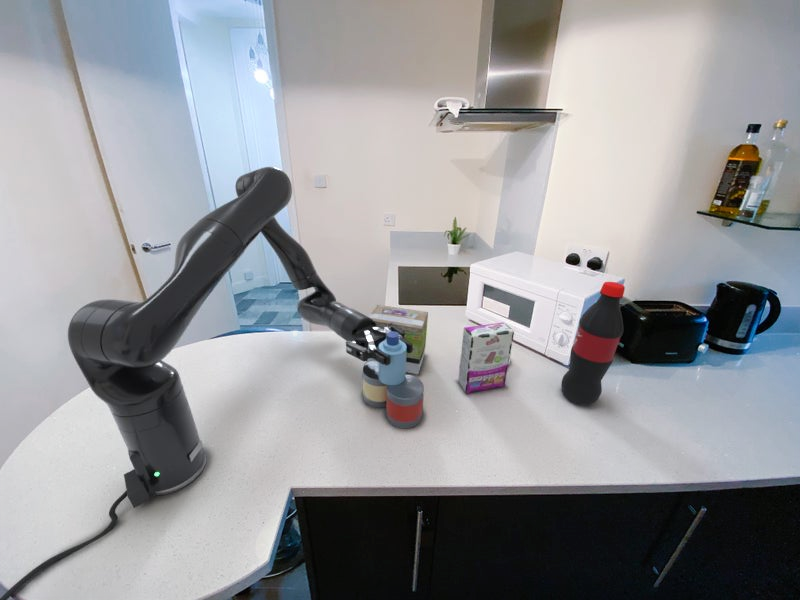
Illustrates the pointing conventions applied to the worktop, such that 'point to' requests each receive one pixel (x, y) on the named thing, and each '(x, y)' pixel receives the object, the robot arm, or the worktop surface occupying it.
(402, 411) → the can front
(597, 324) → the cola bottle
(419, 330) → the tea box
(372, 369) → the can back
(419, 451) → the worktop surface
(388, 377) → the plastic bottle
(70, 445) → the worktop surface
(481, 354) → the candy bar box
